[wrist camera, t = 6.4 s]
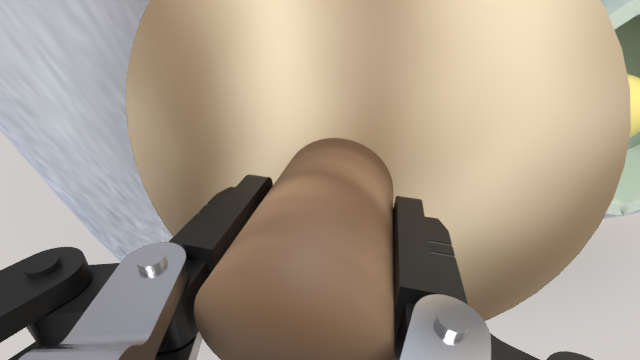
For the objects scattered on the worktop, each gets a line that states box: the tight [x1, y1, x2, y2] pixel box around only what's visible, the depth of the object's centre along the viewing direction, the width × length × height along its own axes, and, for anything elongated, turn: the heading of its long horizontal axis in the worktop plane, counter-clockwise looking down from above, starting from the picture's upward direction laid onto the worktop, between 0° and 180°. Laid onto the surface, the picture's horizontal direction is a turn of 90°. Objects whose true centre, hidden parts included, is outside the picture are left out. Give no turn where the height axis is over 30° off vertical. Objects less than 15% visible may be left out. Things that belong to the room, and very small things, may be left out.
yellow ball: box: [627, 74, 640, 138], centre depth 24 cm, size 6×6×6 cm
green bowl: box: [601, 0, 640, 216], centre depth 24 cm, size 15×15×7 cm
